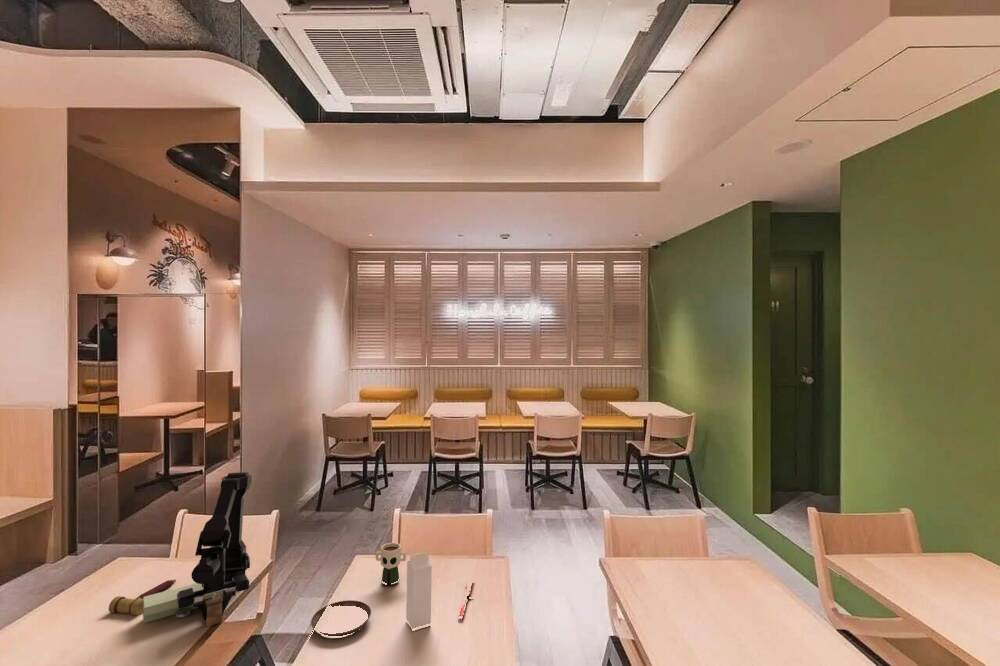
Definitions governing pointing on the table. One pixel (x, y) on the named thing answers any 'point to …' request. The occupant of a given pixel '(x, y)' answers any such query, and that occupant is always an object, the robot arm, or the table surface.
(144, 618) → the plinth shelf
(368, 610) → the plant saucer
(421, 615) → the milk
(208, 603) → the pusher tool
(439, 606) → the table surface
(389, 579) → the character mug
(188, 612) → the token
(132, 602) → the gavel
